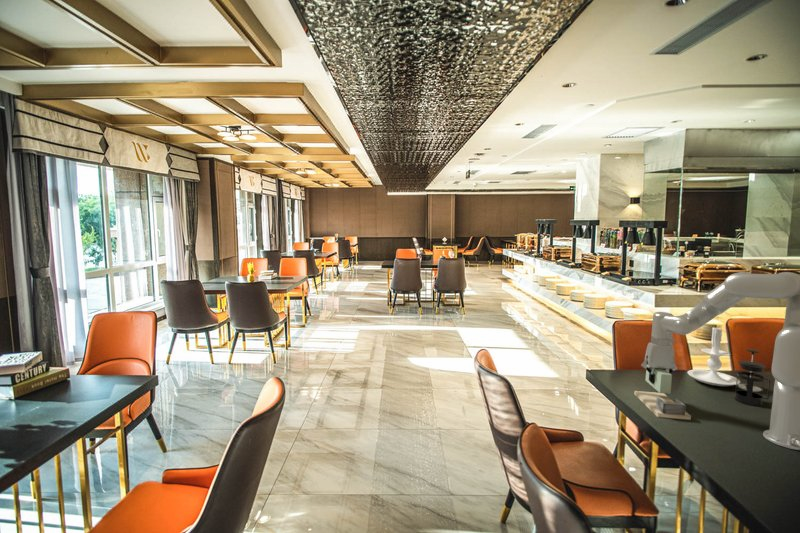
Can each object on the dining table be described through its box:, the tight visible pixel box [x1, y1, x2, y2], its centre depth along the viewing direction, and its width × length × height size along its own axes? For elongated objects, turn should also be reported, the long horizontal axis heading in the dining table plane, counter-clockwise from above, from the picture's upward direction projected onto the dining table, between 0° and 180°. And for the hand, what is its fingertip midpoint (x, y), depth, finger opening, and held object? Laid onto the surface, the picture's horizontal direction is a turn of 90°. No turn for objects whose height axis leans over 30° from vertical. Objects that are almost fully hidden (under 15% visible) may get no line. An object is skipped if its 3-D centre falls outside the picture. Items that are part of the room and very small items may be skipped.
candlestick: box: [686, 327, 741, 387], centre depth 201 cm, size 21×25×28 cm
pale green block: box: [645, 365, 673, 395], centre depth 175 cm, size 14×4×8 cm, turn 171°
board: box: [634, 390, 692, 421], centre depth 173 cm, size 23×12×6 cm, turn 171°
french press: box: [734, 349, 771, 407], centre depth 177 cm, size 12×9×23 cm
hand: (657, 382), depth 176 cm, fingers closed on pale green block, 4 cm apart
